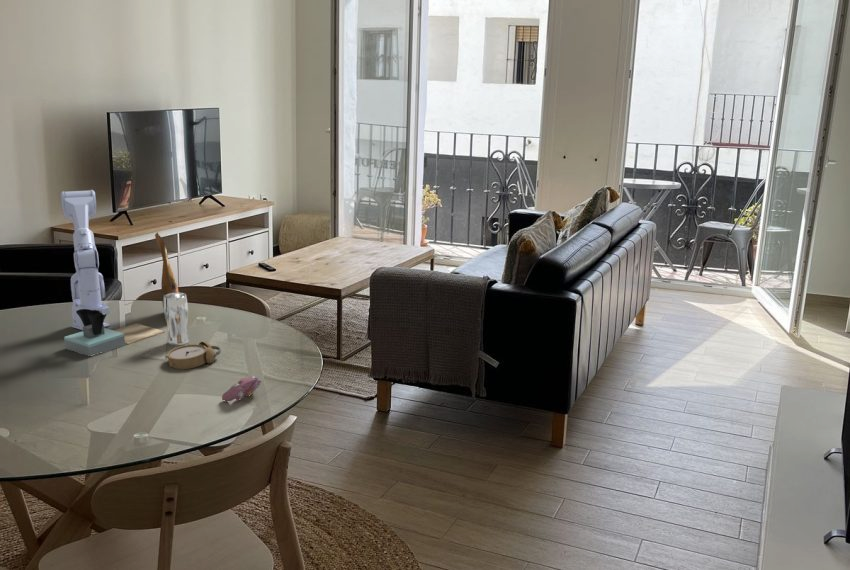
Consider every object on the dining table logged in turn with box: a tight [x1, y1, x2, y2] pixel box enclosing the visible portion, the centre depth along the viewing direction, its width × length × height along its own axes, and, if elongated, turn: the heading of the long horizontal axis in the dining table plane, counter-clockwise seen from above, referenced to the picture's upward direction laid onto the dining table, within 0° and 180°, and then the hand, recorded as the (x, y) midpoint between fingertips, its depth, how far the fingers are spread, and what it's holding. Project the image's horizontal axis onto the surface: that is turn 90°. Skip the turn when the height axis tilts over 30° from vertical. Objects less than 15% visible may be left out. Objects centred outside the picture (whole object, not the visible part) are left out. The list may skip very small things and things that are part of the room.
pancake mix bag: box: [154, 231, 180, 310], centre depth 273 cm, size 7×19×28 cm, turn 17°
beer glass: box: [163, 292, 190, 347], centre depth 251 cm, size 7×7×15 cm
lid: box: [63, 324, 124, 347], centre depth 246 cm, size 12×12×4 cm
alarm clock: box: [165, 341, 222, 370], centre depth 237 cm, size 11×5×15 cm
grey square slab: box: [63, 336, 126, 357], centre depth 247 cm, size 12×12×3 cm
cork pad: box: [112, 322, 166, 345], centre depth 260 cm, size 14×14×1 cm
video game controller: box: [221, 375, 262, 402], centre depth 212 cm, size 10×5×7 cm, turn 148°
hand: (94, 333), depth 247 cm, fingers closed on lid, 3 cm apart
